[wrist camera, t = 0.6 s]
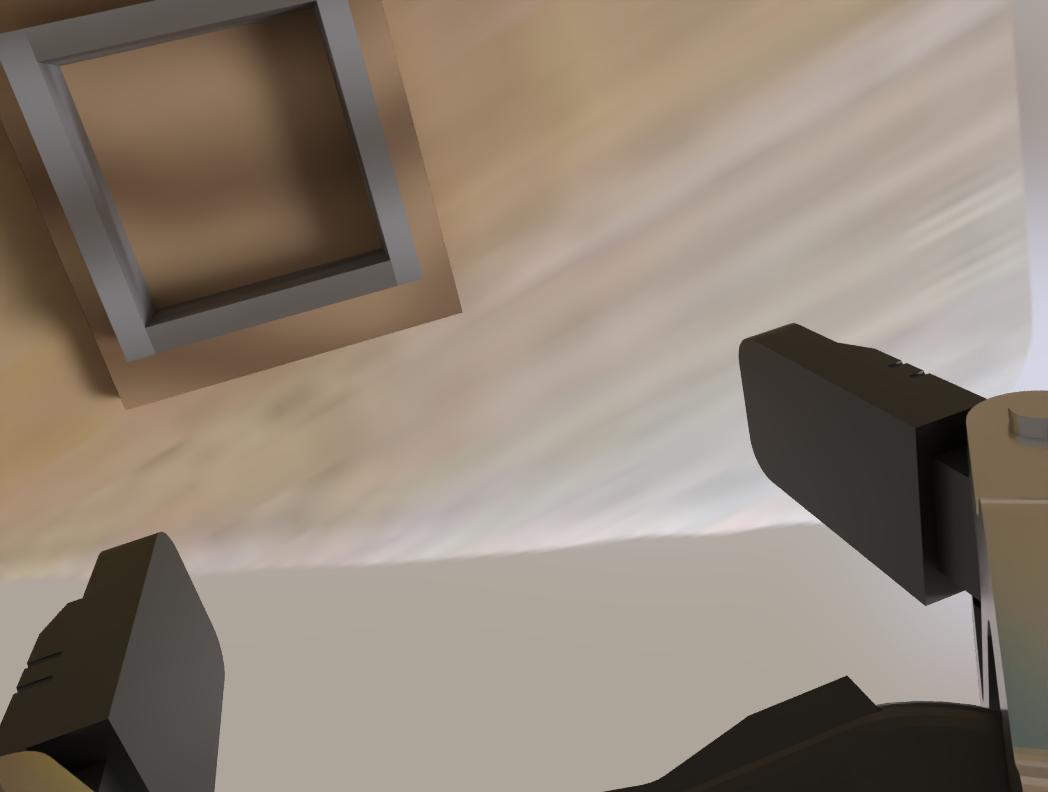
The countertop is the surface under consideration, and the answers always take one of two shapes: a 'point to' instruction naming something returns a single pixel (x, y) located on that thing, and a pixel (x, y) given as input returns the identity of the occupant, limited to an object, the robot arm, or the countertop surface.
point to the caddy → (223, 180)
